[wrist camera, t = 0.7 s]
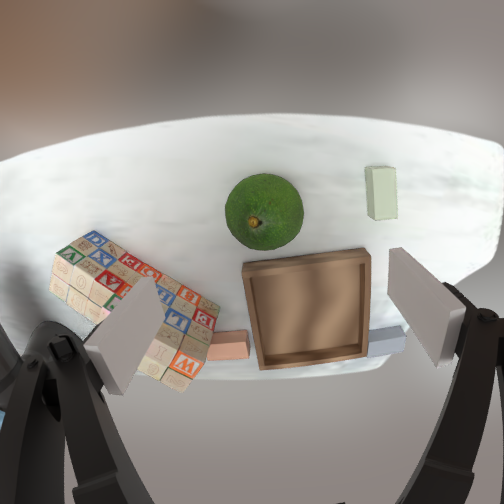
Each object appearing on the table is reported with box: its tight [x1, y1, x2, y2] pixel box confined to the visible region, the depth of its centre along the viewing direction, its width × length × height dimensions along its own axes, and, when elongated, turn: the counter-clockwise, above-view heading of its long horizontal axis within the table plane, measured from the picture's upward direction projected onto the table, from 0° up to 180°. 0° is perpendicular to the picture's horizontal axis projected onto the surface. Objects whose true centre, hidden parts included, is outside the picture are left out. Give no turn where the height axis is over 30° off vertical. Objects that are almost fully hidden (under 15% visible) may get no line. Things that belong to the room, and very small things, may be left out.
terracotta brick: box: [207, 330, 250, 361], centre depth 41 cm, size 6×3×3 cm, turn 99°
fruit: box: [225, 174, 304, 251], centre depth 29 cm, size 8×8×12 cm
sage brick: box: [365, 166, 398, 221], centre depth 32 cm, size 6×3×3 cm, turn 8°
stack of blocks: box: [49, 231, 220, 393], centre depth 34 cm, size 21×6×12 cm, turn 59°
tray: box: [242, 248, 371, 370], centre depth 38 cm, size 16×16×3 cm
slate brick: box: [366, 326, 406, 358], centre depth 39 cm, size 6×3×3 cm, turn 97°
